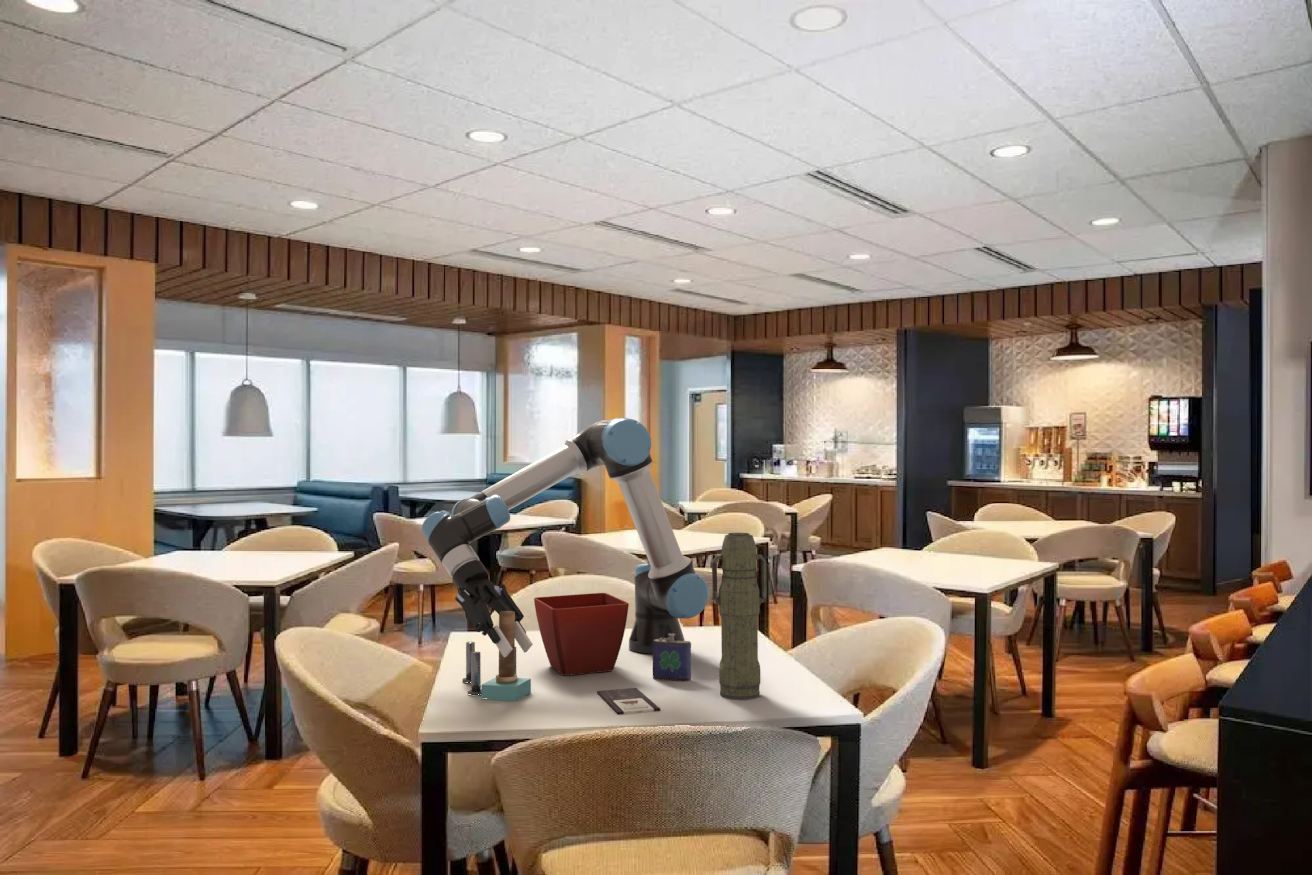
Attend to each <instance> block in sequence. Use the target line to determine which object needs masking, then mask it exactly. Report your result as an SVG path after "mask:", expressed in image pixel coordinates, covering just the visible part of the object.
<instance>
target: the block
mask: <svg viewBox="0 0 1312 875" xmlns="http://www.w3.org/2000/svg"><path fill="white" fill-rule="evenodd" d="M531 684H532V679H531V678H530V677H529V678H528V677H517V682H515V683H508V684H502V683H497V682H496V676H495V677H494V678H493V677H492V678H491V679H490V680H488V681H486V682H484V683H482V684H481V695H480V696H481V698H487V699H486V700H493V699H495V701H507V702H516V701H518V700H520V699H522V698H524V697H525V696H527V695H529V694H530V693H531V692H532V691H531V690H532V685H531Z"/></svg>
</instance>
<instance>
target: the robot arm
mask: <svg viewBox="0 0 1312 875" xmlns="http://www.w3.org/2000/svg"><path fill="white" fill-rule="evenodd" d="M651 449H652V438H651V435H650V432H649V430H648V429H647V428H646V427H645V425H643V423H642V422H640V421H638V420H636V419H632V418H628V417H617V418H611V419H610V418H609V419H602V420H599V421H596V422H595V423H593V424H590V426H588V427H586V428H584V429H583V430H581V431H579V433H576V434H575V435H573V436H572V437H570V438H567V439H566V440H565V442H564V446H562V447H559V448H558V449H556V450H554V451H553V452H551V453H549V454H546V456H543V457H542V458H540V459H538V460H536V461H535V462H533V463H530V464H529V465H527V466H525V467H524V468H521V469H520V470H518V471H516V472H514V473H513V474H511V475H509V476H507V477H505V478H504V479H501V480H500V481H498V482H496V483H494V484H493V485H491V486H489V487H487V488H485V489H483V490H482V491H481V492H478V493H476V494H474V495H472V496H470V497H468V498H463V499H460V500H459V501H457V502H456V503H455V504H454V505H453V507H452V509H451V514H450V512H448V511H447V510H440V511H436V512H433V513H431V514H430V515H428V516H427V517H426V518H425V520H424V521H423V523H422V525H421V531H422V533H423V536H424V537H425V539H426V541H427V542H428V545H429V546H430V548H432V549H431V550H432V551H433V552H434V553H435V555H436V557H437V558H438V560H439V561H440V562H441V564H442V565H443V567H444V569H445V570H446V572H447V574H448V575H449V576H450V578H452V579H451V580H452V582H453V584H454V585H455V587H456V588H457V590H458V591H459V592H458V593H457V595H456V596H455V598H454V600H455V601H456V602H457V603H458V604H459V605H460V606H461V607H462V610H464V612H465V614H466V616H467V618H468V619H469V621H470V623H471V625H473V627H474V628H473V629H475V631H476V632H477V633H480V632H481V635H482V636H488V637H489V639H490V640H491V643H493V644H494V645H495V646H496V647H497V649H498V651H499V650H500V652H501V654H502V655H503V657H507V656H508V655H509V653H510V652H511V651H512V650H513V648H512V647H511V645H510V644H509V642H508V641H507V639H506V638H505V636H504V634H503V633H502V631H501V630H500V628H499V624H497V625H494V622H493V619H492V616H491V613H490V611H489V608H492V609H493V611H495V613H497V614H498V615H499V612H501V611H514V612H515V641H516V642H517V644H518V645H519V647H520V648H521V650H522V652H523V653H527V652H528V651H529V650H530V648H532V646H533V645H534V644H533V642H532V641H531V639H530V638H529V636H528V635H527V631H526V629H525V628H524V627H523V624H522V623H521V622H522V620H523V619H524V618H525V615H524V614H523V612H522V611H521V609H520V608H519V607H518V605H517V603H516V602H515V601H514V600H513V598H512V596H511V595H510V594H509V592H508V590H507V588H506V585H505V584H503V583H501V584H499V585H495V584H494V583H493V582H492V581H491V580H490V579H489V572H488V570H487V569H486V567H485V565H484V564H483V562H482V561H481V560H480V558H479V557H480V556H478V554H477V553H476V552H475V550H474V548H473V547H472V546H471V543H473V542H475V541H476V540H478V539H481V538H483V537H484V536H486V535H489V534H490V533H492V532H494V531H495V530H498V529H501V527H503V526H505V525H507V524H508V523H509V522H510V521H511V514H510V510H511V509H514V508H515V507H517V506H519V505H521V504H522V503H524V502H527V501H528V500H530V499H531V498H534V497H535V496H537V495H538V494H540V493H543V492H544V491H546V490H548V489H549V488H551V487H553V486H554V485H557V484H558V483H560V482H562V481H564V480H565V479H567V478H569V477H571V476H573V475H575V474H576V473H578V472H580V473H586V472H588V471H590V470H592V469H594V468H597V467H600V466H604V467H605V470H606V472H607V474H608V478H609V479H610V480H611V481H612V480H613V481H615V482H616V483H617V484H618V487H619V489H620V491H621V493H622V496H623V498H624V501H625V504H626V507H627V509H628V511H629V513H630V517H631V519H632V521H633V524H634V527H635V530H636V532H637V535H638V537H639V540H640V542H641V545H642V548H643V549H644V552H645V555H646V558H647V560H648V562H649V563H641V564H638V565H636V566H635V570H634V571H635V572H634V605H635V607H634V612H635V613H634V616H635V617H634V619H635V620H634V623H633V626H632V629H631V632H630V636H629V639H628V649H629V650H631V651H633V652H636V653H643V654H653V641H654V640H656V639H660V638H662V639H663V638H668V637H669V635H668V634H670V633H671V634H672V633H673V634H675V636H674V641H686V640H685V636H684V634H683V631H682V627H681V624H680V621H679V619H683V620H684V619H685V620H687V619H692V618H695V617H697V616H698V615H699V614H700V613H702V612H703V610H704V609H705V607H706V605H707V602H708V601H709V596H710V595H709V594H710V591H709V585H708V584H707V582H706V580H705V579H704V578H703V577H702V576H701V575H700V574H697V573H696V570H695V568H694V566H693V563H692V560H691V559H690V557H687V556H685V555H683V554H682V551H681V549H680V546H679V544H678V541H677V538H676V535H675V533H674V531H673V527H672V525H671V523H670V520H669V516H668V514H667V512H666V509H665V507H664V504H663V501H662V500H661V497H660V496H661V495H660V494H659V491H658V488H657V487H656V484H655V481H654V478H653V476H652V473H651V470H650V469H651V467H652V465H653V463H654V462H653V459H652V457H651V454H650V451H651ZM663 640H665V639H663Z"/></svg>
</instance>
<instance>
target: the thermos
mask: <svg viewBox="0 0 1312 875" xmlns="http://www.w3.org/2000/svg"><path fill="white" fill-rule="evenodd" d="M719 560H721V570H722V575H721V582H720V586H719V589H718V562H719ZM759 560H760V561H761V563H760V564H761V595H760V587H759V584H758V581H757V579H758V578H757V576H758V575H757V574H756V570H757V561H759ZM767 567H768V566H767V560H766V558H765V557H764V555H762V554H759V553H757V544H756V542H755V539H754V535H752V534H750V532H749V533H748V532H729V533H728V534H725V535H724V538H723V541H722V544H721V553H720V554H719V555H716V556H715V557H714V558H713V559H712V561H711V580H712V581H711V583H712V584H711V588H712V589H711V590H712V591H711V599H712V600H713V601H714V602H715V603H716V604H717V605H718V613H719V616H720V617H721V618H720V620H721V626H720V627H721V628H720V630H721V658H720V661H719V665H718V666H719V667H718V668H719V669H718V672H719V675H718V677H719V678H718V680H719V681H718V683H719V684H720V686H719V687H720V688H719V689H720V690H719V695H720V696H721V697H723V698H725V699H729V700H736V701H737V700H738V701H743V700H744V701H745V700H753V699H754V700H755V699H756V698H757V699H758V698H759V697H760V695H761V692H760V685H761V664H760V662H759V661H760V660H759V654H758V653H759V649H758V647H759V646H758V645H759V643H758V642H759V640H758V639H759V638H758V636H759V635H758V629H759V628H758V626H759V625H758V618H759V616H760V612H761V611H760V610H761V609H760V606H761V604H763V603H767V597H768V596H767V595H768V594H767V593H768V590H767V589H768V581H767V579H768V574H767V573H768V572H767Z"/></svg>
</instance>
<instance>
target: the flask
mask: <svg viewBox="0 0 1312 875" xmlns="http://www.w3.org/2000/svg"><path fill="white" fill-rule="evenodd" d="M668 635H669V637H668V638H663V639H665V640H663V639H662V638H660V639H656V640H654V641H653V653H652V679H653V680H656V681H657V680H658V681H672V682H674V681H675V682H690V681H691V680H692V653H691V652H692V642H691V641H690V640H685V641H674V636H675V634H673V633H672V634H671V633H670V634H668Z"/></svg>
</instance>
